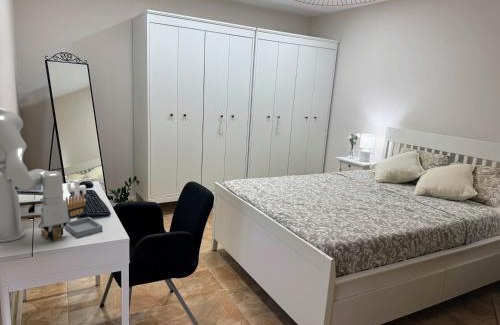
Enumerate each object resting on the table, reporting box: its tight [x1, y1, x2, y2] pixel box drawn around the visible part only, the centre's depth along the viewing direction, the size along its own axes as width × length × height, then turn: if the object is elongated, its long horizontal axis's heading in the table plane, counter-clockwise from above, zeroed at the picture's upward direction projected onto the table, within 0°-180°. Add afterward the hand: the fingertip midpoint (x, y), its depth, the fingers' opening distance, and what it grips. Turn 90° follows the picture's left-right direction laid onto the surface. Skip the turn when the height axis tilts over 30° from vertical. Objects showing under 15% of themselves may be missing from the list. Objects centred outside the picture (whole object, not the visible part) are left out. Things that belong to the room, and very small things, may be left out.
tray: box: [64, 216, 104, 239], centre depth 168 cm, size 12×14×3 cm
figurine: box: [66, 179, 87, 203], centre depth 196 cm, size 7×9×15 cm
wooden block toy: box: [40, 224, 62, 242], centre depth 159 cm, size 6×10×6 cm, turn 48°
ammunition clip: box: [65, 193, 87, 220], centre depth 182 cm, size 11×2×12 cm, turn 147°
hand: (55, 237), depth 158 cm, fingers closed on wooden block toy, 3 cm apart
